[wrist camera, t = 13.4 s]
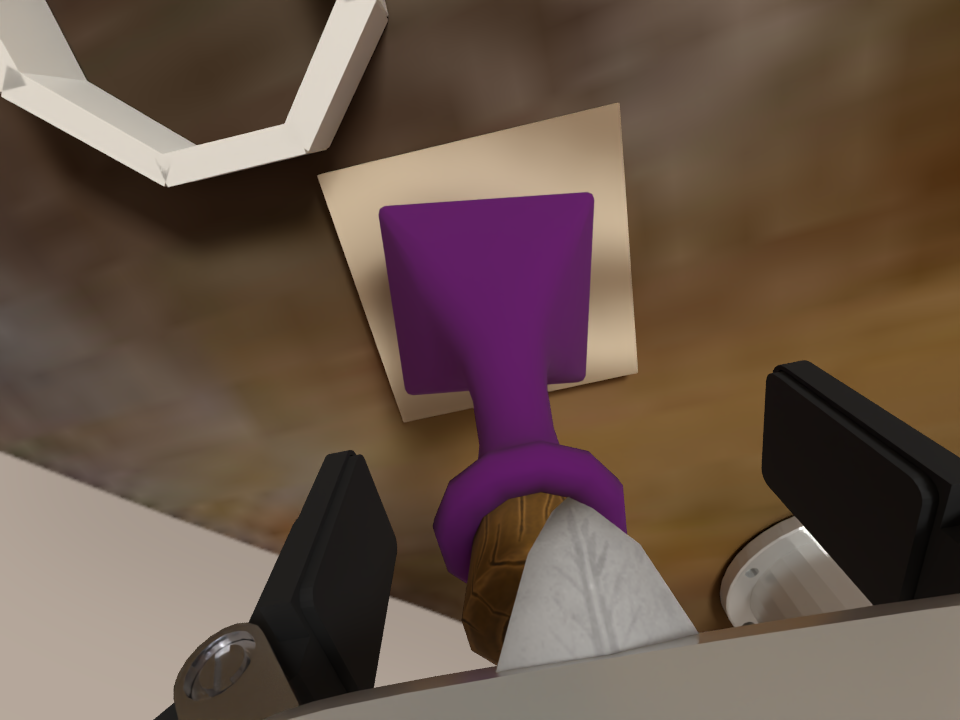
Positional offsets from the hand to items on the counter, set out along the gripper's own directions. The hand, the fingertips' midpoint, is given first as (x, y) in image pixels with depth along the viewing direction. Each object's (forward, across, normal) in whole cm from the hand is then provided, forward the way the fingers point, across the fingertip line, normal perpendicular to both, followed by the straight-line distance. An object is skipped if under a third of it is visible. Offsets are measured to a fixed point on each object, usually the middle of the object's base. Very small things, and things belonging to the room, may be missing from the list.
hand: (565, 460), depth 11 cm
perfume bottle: (+12, +1, -2) cm, 12 cm away
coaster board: (+12, +1, -1) cm, 12 cm away
